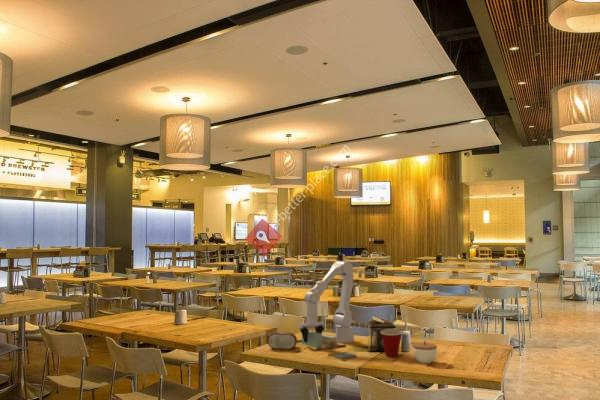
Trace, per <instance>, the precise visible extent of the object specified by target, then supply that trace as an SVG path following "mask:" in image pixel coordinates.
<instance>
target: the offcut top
mask: <svg viewBox="0 0 600 400" xmlns="http://www.w3.org/2000/svg"><path fill="white" fill-rule="evenodd" d="M322 340H326V341H330V342H333V341H337V337H336V335H335V336H334V335H331V334H330V335H329V334H326V333H322Z"/></svg>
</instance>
